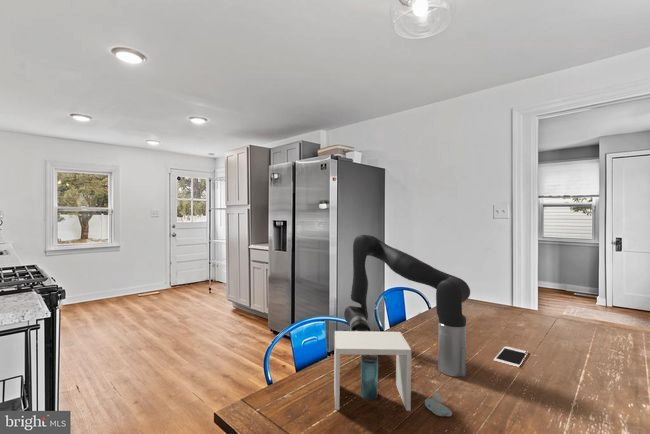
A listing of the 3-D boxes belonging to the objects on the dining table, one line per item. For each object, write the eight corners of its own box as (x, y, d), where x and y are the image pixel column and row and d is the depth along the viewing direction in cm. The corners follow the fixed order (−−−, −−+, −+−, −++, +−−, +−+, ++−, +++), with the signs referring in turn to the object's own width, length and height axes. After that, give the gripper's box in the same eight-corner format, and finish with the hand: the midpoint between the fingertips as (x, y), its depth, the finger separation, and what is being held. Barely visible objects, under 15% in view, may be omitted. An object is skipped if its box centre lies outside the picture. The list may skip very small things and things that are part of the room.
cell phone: (529, 354, 132) (529, 351, 132) (519, 369, 119) (519, 367, 119) (505, 348, 138) (505, 345, 138) (493, 362, 125) (493, 359, 125)
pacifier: (435, 403, 97) (422, 408, 93) (436, 382, 97) (422, 387, 94) (457, 416, 90) (443, 422, 87) (458, 394, 90) (444, 399, 87)
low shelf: (334, 384, 106) (334, 331, 106) (399, 385, 106) (400, 331, 106) (335, 409, 92) (335, 348, 92) (410, 410, 92) (411, 349, 92)
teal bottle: (379, 392, 102) (379, 353, 102) (375, 401, 97) (375, 360, 97) (363, 388, 104) (363, 351, 104) (358, 397, 99) (359, 357, 99)
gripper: (342, 318, 128) (344, 334, 112) (378, 319, 128) (385, 335, 111) (341, 337, 128) (343, 355, 112) (377, 338, 128) (384, 356, 112)
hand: (364, 345), depth 112 cm, fingers open, 8 cm apart
